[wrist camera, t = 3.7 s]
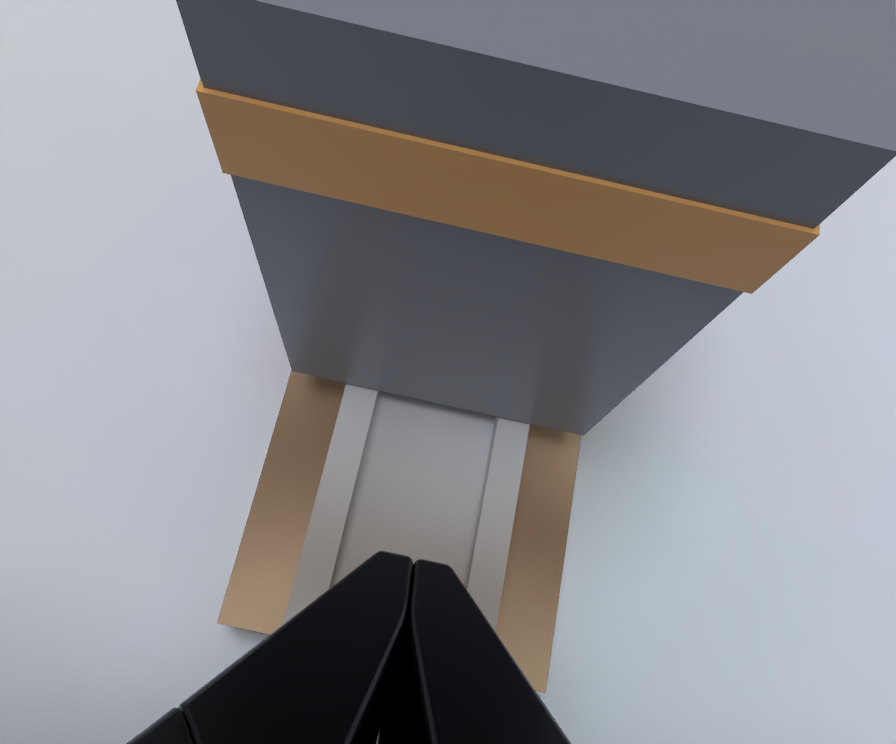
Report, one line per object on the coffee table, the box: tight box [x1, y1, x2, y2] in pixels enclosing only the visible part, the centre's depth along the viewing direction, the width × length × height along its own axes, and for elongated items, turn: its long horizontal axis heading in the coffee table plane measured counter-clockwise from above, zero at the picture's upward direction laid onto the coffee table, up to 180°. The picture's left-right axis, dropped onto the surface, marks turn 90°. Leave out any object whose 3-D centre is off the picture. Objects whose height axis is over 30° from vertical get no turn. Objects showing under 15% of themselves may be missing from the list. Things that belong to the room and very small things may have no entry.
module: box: [176, 0, 896, 436], centre depth 10 cm, size 5×6×8 cm
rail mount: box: [217, 371, 581, 693], centre depth 14 cm, size 18×6×6 cm, turn 169°
